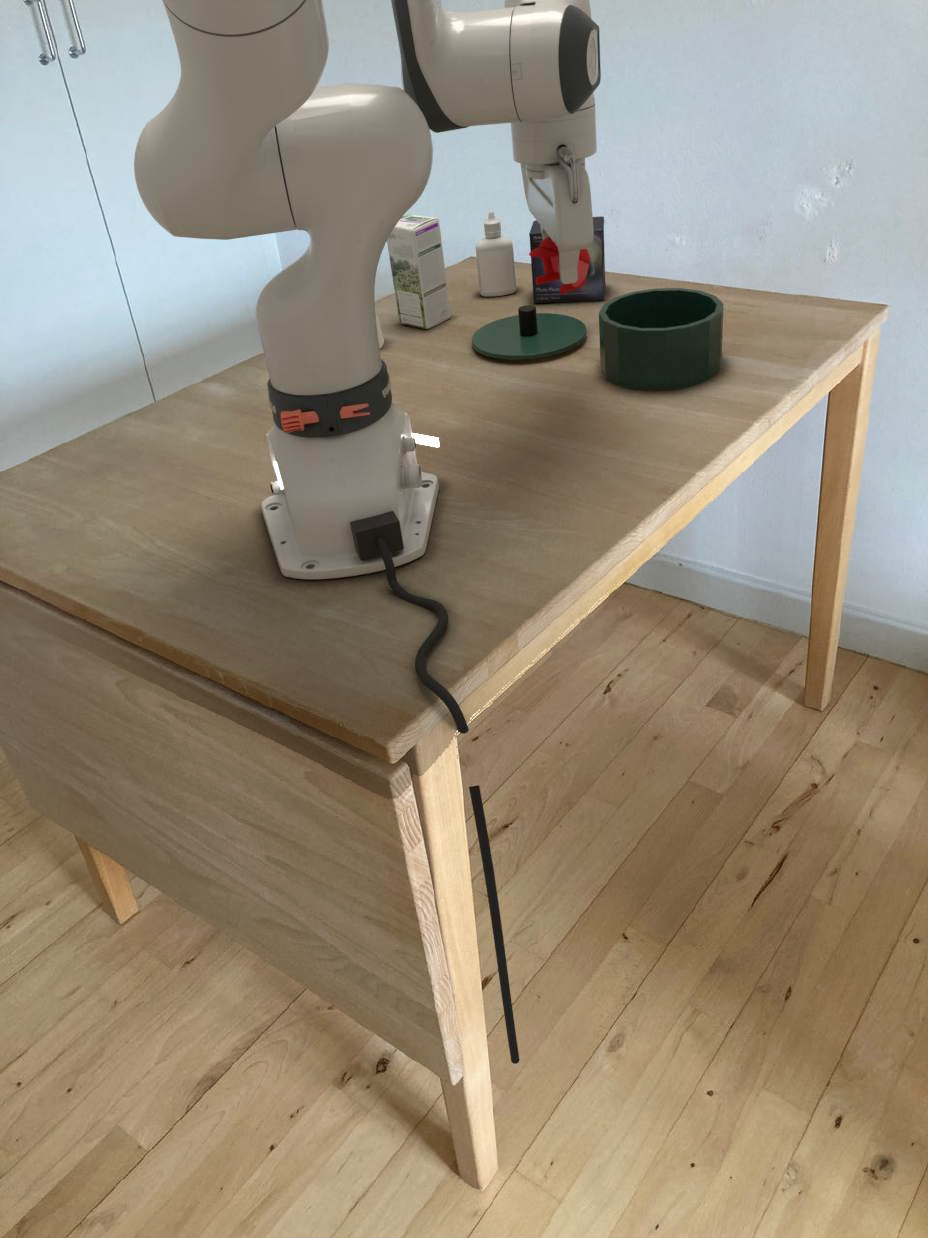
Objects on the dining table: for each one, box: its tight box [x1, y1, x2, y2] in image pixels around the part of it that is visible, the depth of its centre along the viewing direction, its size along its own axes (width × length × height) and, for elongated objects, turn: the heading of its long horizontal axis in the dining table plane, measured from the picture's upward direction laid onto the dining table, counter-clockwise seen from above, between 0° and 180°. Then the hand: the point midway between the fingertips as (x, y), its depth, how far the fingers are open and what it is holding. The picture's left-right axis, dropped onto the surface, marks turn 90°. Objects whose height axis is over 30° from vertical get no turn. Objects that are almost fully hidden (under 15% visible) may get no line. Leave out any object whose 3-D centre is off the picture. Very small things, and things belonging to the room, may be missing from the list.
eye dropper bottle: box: [475, 211, 517, 298], centre depth 156 cm, size 4×6×12 cm
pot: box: [598, 287, 725, 392], centre depth 127 cm, size 15×15×8 cm
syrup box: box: [386, 214, 452, 330], centre depth 148 cm, size 6×6×14 cm
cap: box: [528, 237, 590, 294], centre depth 116 cm, size 8×6×6 cm
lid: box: [471, 304, 588, 361], centre depth 140 cm, size 16×16×5 cm
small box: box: [528, 216, 607, 304], centre depth 152 cm, size 11×6×10 cm, turn 80°
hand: (561, 271), depth 116 cm, fingers closed on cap, 7 cm apart
